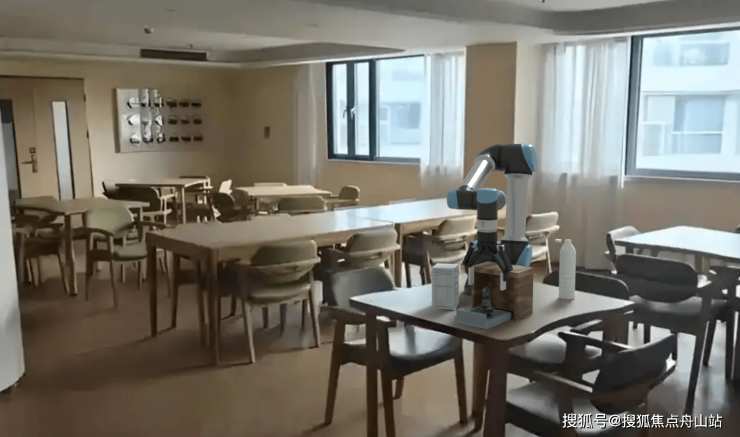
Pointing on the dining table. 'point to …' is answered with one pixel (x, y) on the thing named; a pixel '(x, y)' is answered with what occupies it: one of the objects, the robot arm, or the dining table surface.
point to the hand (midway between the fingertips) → (486, 286)
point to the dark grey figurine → (486, 303)
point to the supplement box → (445, 286)
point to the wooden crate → (512, 297)
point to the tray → (481, 318)
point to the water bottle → (567, 270)
